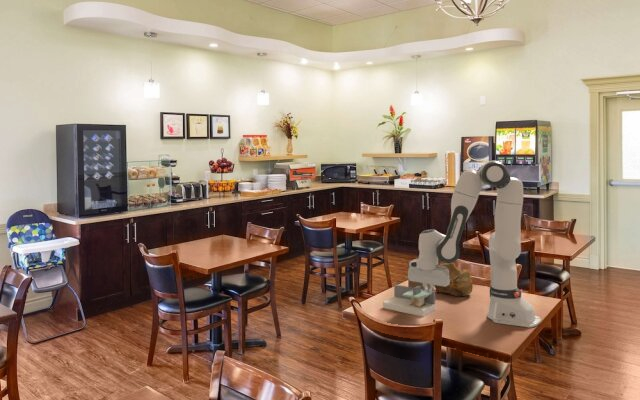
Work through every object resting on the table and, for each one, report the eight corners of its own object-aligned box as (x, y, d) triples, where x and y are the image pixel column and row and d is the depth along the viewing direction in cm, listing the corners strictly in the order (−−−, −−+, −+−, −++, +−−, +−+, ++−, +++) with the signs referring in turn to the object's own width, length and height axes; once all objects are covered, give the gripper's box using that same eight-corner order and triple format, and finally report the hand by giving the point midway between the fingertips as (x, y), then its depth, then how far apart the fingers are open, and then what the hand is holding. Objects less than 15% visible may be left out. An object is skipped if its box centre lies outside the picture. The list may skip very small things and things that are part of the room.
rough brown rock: (424, 290, 273) (422, 264, 271) (449, 284, 279) (447, 258, 276) (449, 303, 251) (447, 275, 249) (476, 296, 257) (474, 268, 255)
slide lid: (431, 294, 236) (431, 286, 236) (421, 299, 228) (421, 291, 228) (413, 290, 242) (413, 283, 242) (402, 295, 235) (402, 288, 234)
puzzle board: (435, 309, 237) (435, 291, 236) (423, 316, 228) (423, 297, 227) (395, 301, 252) (395, 284, 251) (383, 307, 242) (382, 290, 241)
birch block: (424, 310, 237) (424, 296, 236) (419, 313, 234) (419, 298, 233) (416, 308, 240) (415, 294, 239) (411, 311, 236) (411, 297, 236)
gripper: (452, 265, 226) (452, 294, 228) (412, 259, 239) (412, 287, 241) (445, 268, 221) (446, 298, 223) (406, 262, 235) (406, 290, 236)
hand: (428, 292), depth 232 cm, fingers closed
